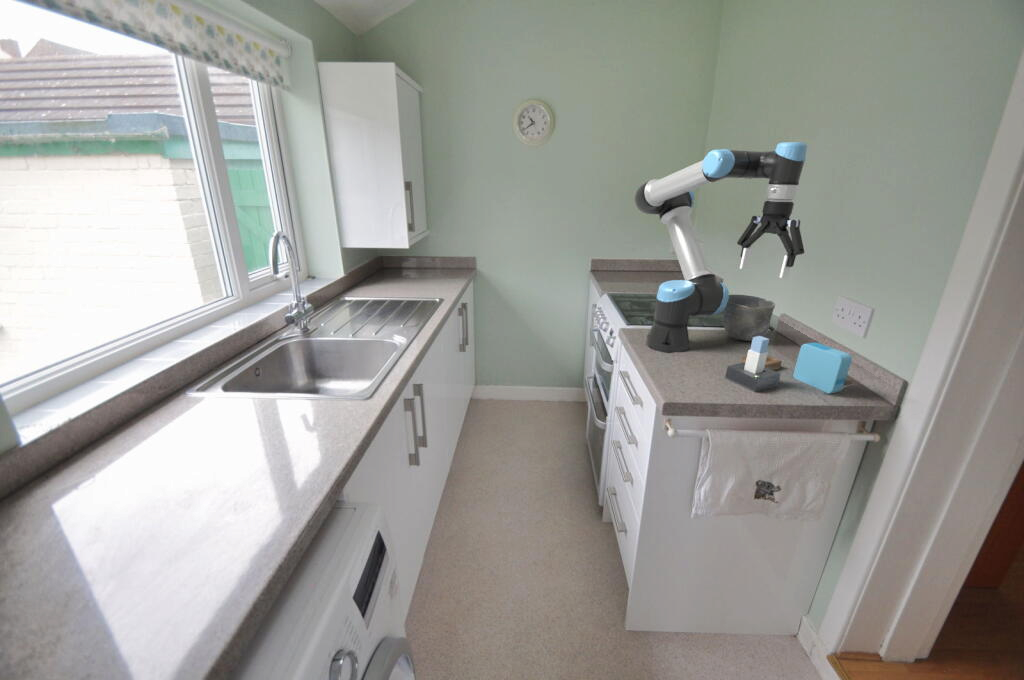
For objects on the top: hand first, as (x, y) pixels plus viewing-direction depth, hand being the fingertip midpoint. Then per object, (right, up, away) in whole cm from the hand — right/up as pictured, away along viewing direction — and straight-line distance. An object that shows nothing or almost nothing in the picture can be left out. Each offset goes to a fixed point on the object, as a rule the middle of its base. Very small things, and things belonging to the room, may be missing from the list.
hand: (762, 272), depth 133 cm
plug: (-6, -32, -4) cm, 33 cm away
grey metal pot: (+11, -20, +34) cm, 41 cm away
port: (-6, -34, -4) cm, 34 cm away
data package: (+13, -35, -4) cm, 37 cm away
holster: (+4, -30, +8) cm, 31 cm away
